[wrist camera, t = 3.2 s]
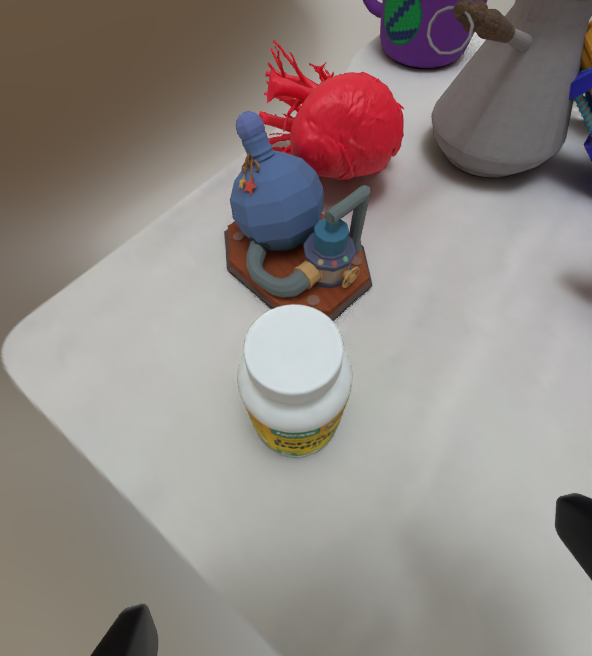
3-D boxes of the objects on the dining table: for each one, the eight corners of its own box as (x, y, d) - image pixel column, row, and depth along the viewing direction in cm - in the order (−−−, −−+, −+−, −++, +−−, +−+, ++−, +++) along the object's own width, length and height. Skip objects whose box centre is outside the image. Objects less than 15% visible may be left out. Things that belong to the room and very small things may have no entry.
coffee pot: (462, 103, 39) (545, -113, 26) (566, 150, 35) (728, -78, 22) (331, 204, 31) (354, -29, 18) (444, 278, 27) (578, 48, 14)
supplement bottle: (318, 362, 24) (328, 273, 16) (354, 437, 22) (389, 379, 13) (241, 392, 23) (210, 313, 15) (270, 474, 21) (252, 435, 12)
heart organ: (462, 59, 24) (388, 85, 35) (290, 6, 21) (266, 52, 32) (416, 210, 28) (362, 192, 39) (266, 184, 25) (252, 172, 36)
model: (202, 247, 29) (166, 138, 21) (286, 192, 32) (282, 78, 24) (308, 342, 25) (312, 251, 17) (392, 268, 28) (431, 161, 20)
